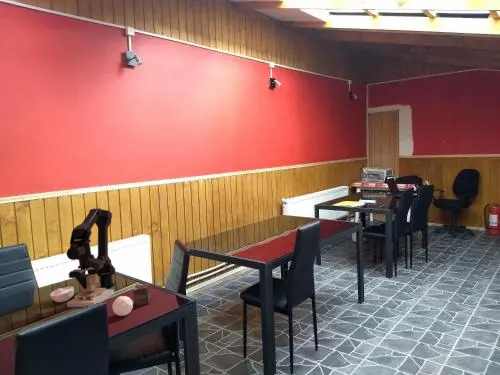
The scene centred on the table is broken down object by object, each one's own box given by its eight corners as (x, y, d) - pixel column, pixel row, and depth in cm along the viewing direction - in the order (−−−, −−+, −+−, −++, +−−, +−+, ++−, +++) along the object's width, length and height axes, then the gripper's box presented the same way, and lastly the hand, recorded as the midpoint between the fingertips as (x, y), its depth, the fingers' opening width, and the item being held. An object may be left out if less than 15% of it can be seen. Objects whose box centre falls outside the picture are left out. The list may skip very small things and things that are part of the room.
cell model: (81, 295, 201) (79, 282, 200) (65, 305, 189) (62, 291, 189) (63, 296, 203) (61, 282, 203) (46, 305, 192) (43, 291, 191)
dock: (88, 293, 202) (88, 289, 202) (114, 293, 199) (113, 289, 199) (67, 307, 187) (66, 302, 187) (94, 306, 183) (93, 302, 183)
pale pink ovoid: (105, 310, 167) (120, 302, 179) (120, 322, 165) (135, 313, 177) (114, 295, 166) (128, 287, 178) (130, 306, 165) (143, 298, 176)
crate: (88, 286, 196) (86, 274, 195) (99, 286, 195) (97, 273, 194) (80, 291, 190) (78, 278, 190) (91, 291, 189) (89, 278, 188)
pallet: (88, 292, 199) (87, 288, 198) (106, 291, 196) (105, 287, 196) (74, 300, 189) (74, 296, 189) (93, 299, 187) (93, 295, 186)
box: (151, 299, 185) (149, 283, 184) (148, 304, 179) (146, 288, 178) (138, 300, 185) (136, 285, 184) (134, 306, 179) (132, 289, 178)
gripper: (87, 259, 180) (92, 293, 181) (111, 247, 198) (115, 279, 199) (65, 260, 182) (70, 294, 184) (90, 248, 200) (95, 279, 202)
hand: (89, 286), depth 192 cm, fingers closed on crate, 6 cm apart
